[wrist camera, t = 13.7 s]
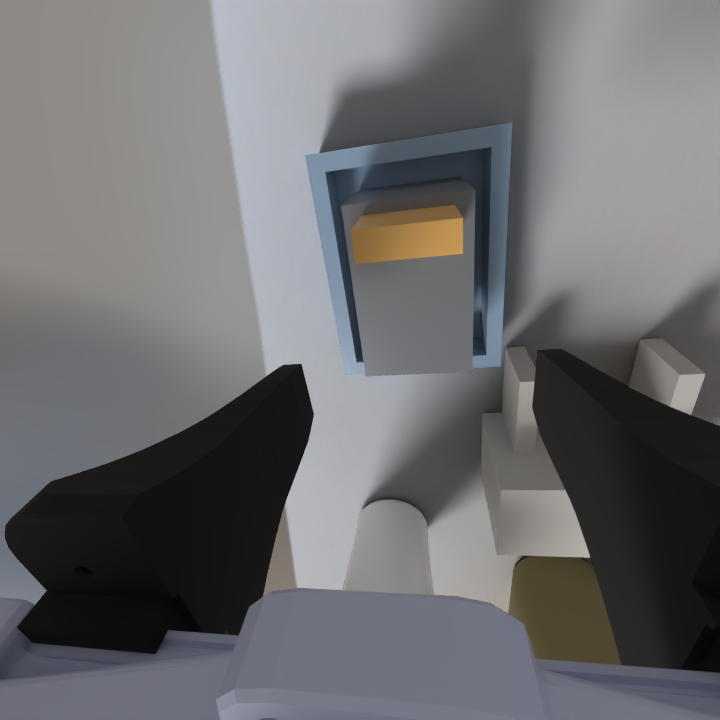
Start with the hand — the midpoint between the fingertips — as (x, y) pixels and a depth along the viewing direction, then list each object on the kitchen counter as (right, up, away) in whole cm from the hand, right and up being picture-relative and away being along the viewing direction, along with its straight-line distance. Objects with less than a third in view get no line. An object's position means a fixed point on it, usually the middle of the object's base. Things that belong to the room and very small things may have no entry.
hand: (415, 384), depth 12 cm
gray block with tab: (+1, +6, +7) cm, 9 cm away
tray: (+1, +6, +7) cm, 10 cm away
